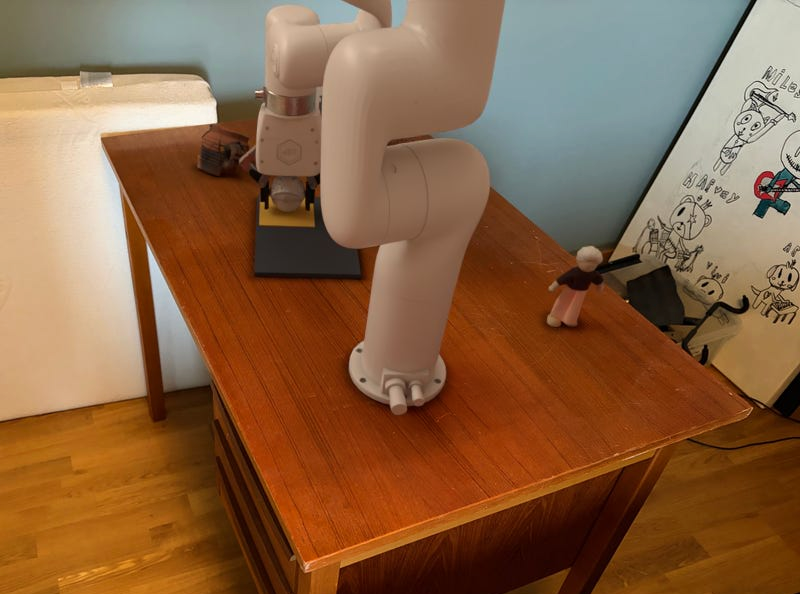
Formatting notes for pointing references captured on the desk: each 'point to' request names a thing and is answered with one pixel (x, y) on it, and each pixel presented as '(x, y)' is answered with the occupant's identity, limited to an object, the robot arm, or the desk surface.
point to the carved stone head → (287, 193)
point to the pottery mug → (231, 155)
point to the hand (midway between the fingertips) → (287, 205)
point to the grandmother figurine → (575, 287)
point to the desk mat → (299, 245)
